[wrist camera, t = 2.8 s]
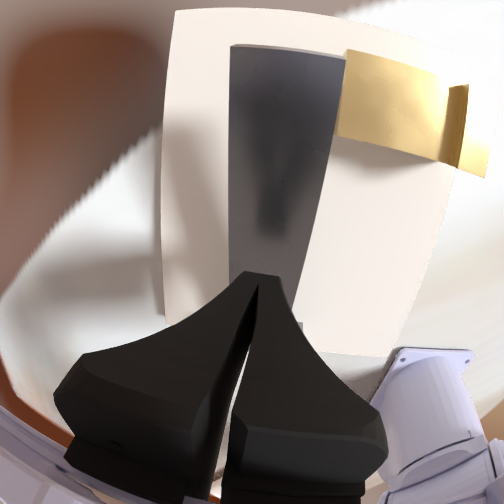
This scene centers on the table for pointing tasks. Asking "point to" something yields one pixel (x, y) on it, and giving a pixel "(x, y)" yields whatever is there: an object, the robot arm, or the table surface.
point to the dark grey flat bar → (278, 155)
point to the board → (333, 191)
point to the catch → (415, 112)
